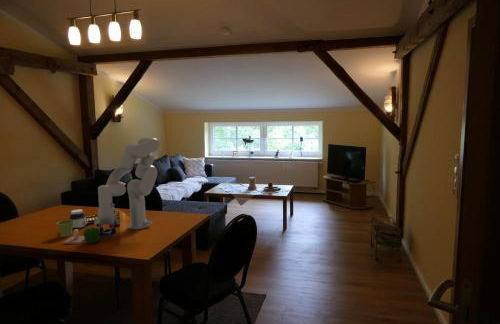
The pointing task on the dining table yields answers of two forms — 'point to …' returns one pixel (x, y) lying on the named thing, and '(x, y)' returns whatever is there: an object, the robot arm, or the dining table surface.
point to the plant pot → (65, 227)
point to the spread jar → (78, 219)
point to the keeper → (75, 238)
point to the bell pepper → (91, 235)
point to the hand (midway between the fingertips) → (107, 233)
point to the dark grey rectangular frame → (106, 233)
